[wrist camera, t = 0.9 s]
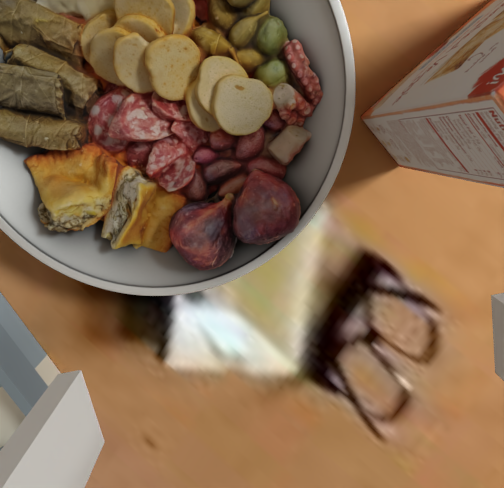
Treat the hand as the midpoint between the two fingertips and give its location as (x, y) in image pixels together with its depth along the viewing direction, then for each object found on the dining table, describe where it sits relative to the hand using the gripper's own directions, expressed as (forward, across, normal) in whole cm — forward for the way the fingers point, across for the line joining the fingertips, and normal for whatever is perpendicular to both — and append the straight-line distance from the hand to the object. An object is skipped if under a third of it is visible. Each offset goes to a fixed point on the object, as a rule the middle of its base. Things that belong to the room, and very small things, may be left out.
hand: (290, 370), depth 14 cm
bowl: (+26, -6, +11) cm, 29 cm away
